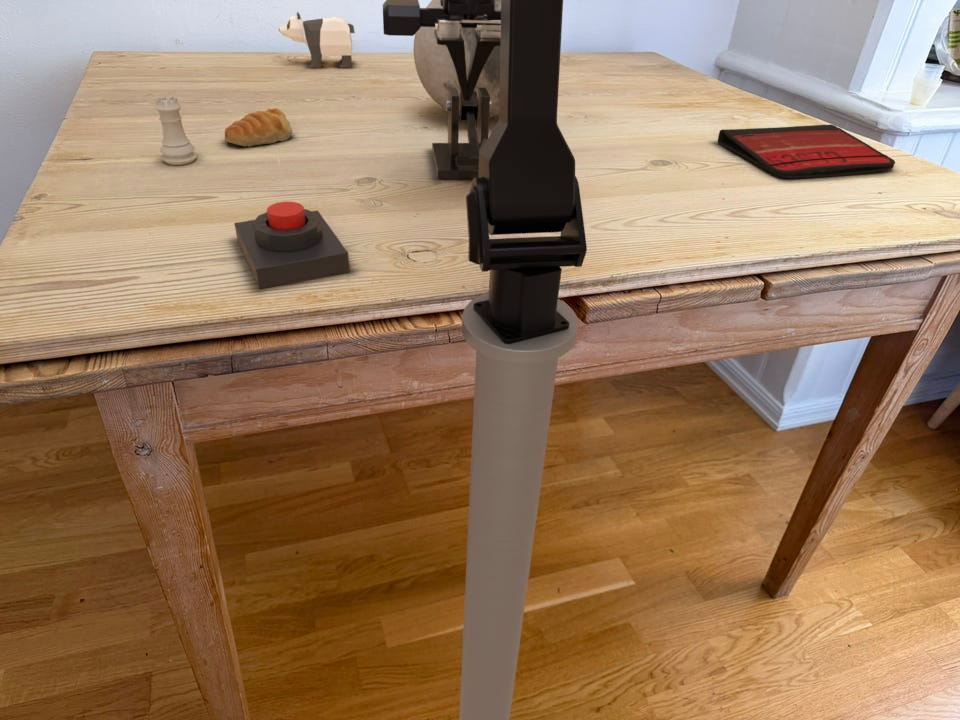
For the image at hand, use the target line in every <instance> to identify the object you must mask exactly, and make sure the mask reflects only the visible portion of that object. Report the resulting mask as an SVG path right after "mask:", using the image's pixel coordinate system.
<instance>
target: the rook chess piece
mask: <svg viewBox="0 0 960 720" xmlns="http://www.w3.org/2000/svg"><path fill="white" fill-rule="evenodd" d="M155 101H156V102H155V106H154V109H155V110H156V111H157V112H158V113H159V118H158V120H159V121H160V123H161V126H162V127H161V128H162V136H163V137H162V142H161V144H162V145H161V147H160V153H161V154H162V155H161V160H162V161H163V162H165V163H166V164H167V165H173V166H181V165H188V164H191V163H193V162H194V161H195V160H196V158H197V154H196V152H195V150H196V149H195V146H194V145H193V144H192V143H191V141H190V139H189V138H188V136H187V135H186V131H185V129H184V127H183V123H182V119H183V117H182V116H181V114H180V110H181V108H182V105H181V103H179V101H178V98H177V97H176V96H171V95H170V96H168V99H167V97H166V96H164V95H163V96H161V97H157V98H155Z"/></svg>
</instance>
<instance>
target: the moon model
mask: <svg viewBox="0 0 960 720" xmlns="http://www.w3.org/2000/svg"><path fill="white" fill-rule="evenodd" d="M425 8H443V6H441V5H440V0H431V1H430V2H429V3H428V4H427V6H426V7H425ZM495 10H501V0H495ZM434 30H435V29H434V27H420V29H419V30H418V31H417V32H416V33H415V34H414V37H413V38H414V39H413V60H414V65H415V70H416V73H417V76H418V78H419V81H420V83H421V85H422V87H423V88H424V90H425V91H426V93H427V94H428V95H429V96H430V98H431V99H432V100H433V101H434V102H435V103H436V104H437V105H438V106H439V107H440V108H442V109H444V110H445V111H446V100H449V87H456V89H457V92H458V94H459V101H460V91H461V90H460V86H459V82H458V79H457V75H456V71H455V67H454V64H453V61H452V58H451V56H450V53H449V51H448V48H447V46H446V45H439V44H437V42H436V39H435V36H434ZM472 30H476V29H475V28H462V29H461V31H460V33H461V35H462V37H463V40H464V46H465V60H466V74H467V75H468V67H469V60H470V52H471V38H472ZM479 87H480V88H486V89H487V91H488V93H489V95H490V100H491V102H492V109H491V111H489V118H493V117H497V116H499V97H500V46H495V47H494V49H493V51H492V52H491V54H490V56H489V58H488V60H487V62H486V63H485V65H484V67H483V69H482V72H481V74H480V77H479V79H478V82H477V84H476V87H475V89H474V91H476V92H477V98H478V88H479ZM459 117H460V109H459Z"/></svg>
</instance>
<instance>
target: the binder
mask: <svg viewBox="0 0 960 720" xmlns="http://www.w3.org/2000/svg"><path fill="white" fill-rule="evenodd" d="M717 144H719V145H720V146H722V147H723V148H727V149H728V150H730V151H732V152H734V153H736V154H737V155H740V156H742V157H743V158H745V159H747V160H748V161H750V162H752V163H754V164H755V165H757V166H759V167H761V168H762V169H764V170H765V171H766V172H770V173H771V174H773V175H775V176H778V177H782V178H785V179H810V178H825V177H828V178H829V177H841V176H853V175H861V174H870V173H878V172H885V171H889V170H892V169H894V167H895V164H896V161H895V160H894V159H893V158H891V157H890V156H888V155H887V154H885V153H883V152H881V151H879V150H877V149H876V148H875V147H873V146H871V145H869V144H868V143H866V142H864V141H863V140H861V139H859V138H858V137H856V136H854V135H852V134H850V133H849V132H846V131H845V130H843V129H842V128H841V127H838V126H837V125H834V124H814V125H795V126H780V127H778V126H777V127H758V128H757V127H755V128H754V127H753V128H736V129H734V128H733V129H720V130H719V132H718V137H717Z"/></svg>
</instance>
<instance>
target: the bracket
mask: <svg viewBox="0 0 960 720" xmlns="http://www.w3.org/2000/svg"><path fill="white" fill-rule="evenodd" d="M478 105H479V107H478V116H477V120H476V129H477V136H478V144H479V149H480V147H481V144H482V142H483V140H484V139H485V138H489V131H490V117H489V111H491V109H492V102H491V100H490V95H489V93H488V91H487V89H486V88H480V87H479V88H478ZM445 111H446V112H448V113H447V116H448V117H447V119H448V120H447V123H448V125H447V142H432V143H431V152H432V157H433V162H434V167H435V171H436V176H437V180H473V178H476V177H478V171H479V166H456V156H470V150H469V142H459V136H460V134H459V133H460V129H459V128H460V116H459V94H458V92H457V89H456V87H449V100H446V110H445Z"/></svg>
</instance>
